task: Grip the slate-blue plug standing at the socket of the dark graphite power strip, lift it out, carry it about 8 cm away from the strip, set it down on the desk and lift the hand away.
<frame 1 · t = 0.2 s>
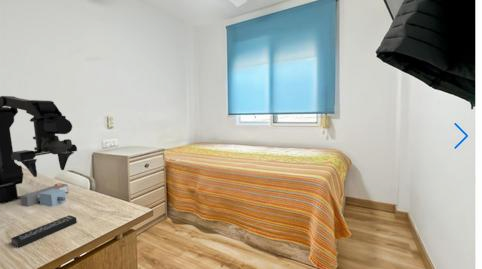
hand: (49, 173, 83), 13 cm above the table, tool pointing down, fingers open, 9 cm apart
power strip: (46, 198, 92), on the table
slate plug: (53, 203, 88), on the table
multiport hub: (47, 234, 66), on the table
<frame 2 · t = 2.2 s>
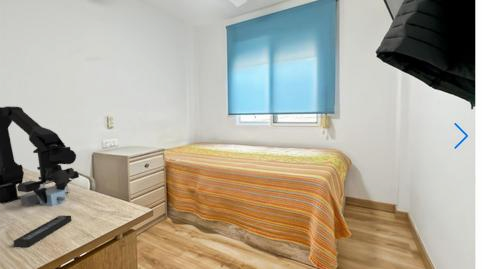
hand: (53, 200, 88), 1 cm above the table, tool pointing down, fingers closed on slate plug, 5 cm apart
slate plug: (53, 203, 88), on the table, touching gripper
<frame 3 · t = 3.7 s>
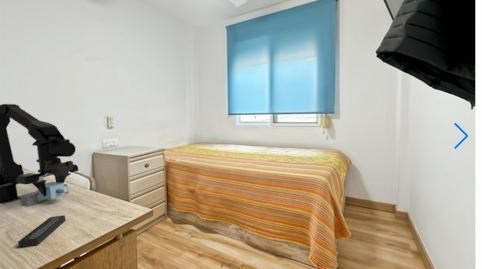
hand: (52, 193, 87), 4 cm above the table, tool pointing down, fingers closed on slate plug, 5 cm apart
slate plug: (52, 196, 87), point 3 cm above the table, touching gripper
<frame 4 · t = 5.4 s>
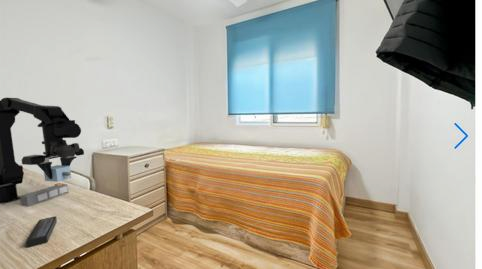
hand: (58, 176, 85), 11 cm above the table, tool pointing down, fingers closed on slate plug, 5 cm apart
slate plug: (58, 179, 85), point 10 cm above the table, touching gripper
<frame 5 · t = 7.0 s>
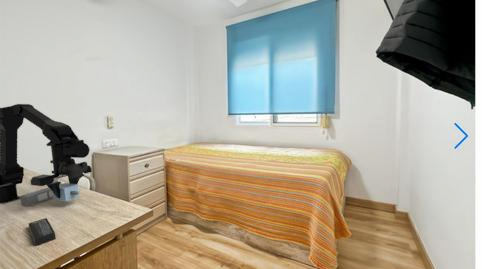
hand: (66, 195, 85), 4 cm above the table, tool pointing down, fingers closed on slate plug, 5 cm apart
slate plug: (66, 197, 85), point 3 cm above the table, touching gripper
when the fingers open (2 cm above the table, at t = 8.1 s): slate plug drops 2 cm, on the table.
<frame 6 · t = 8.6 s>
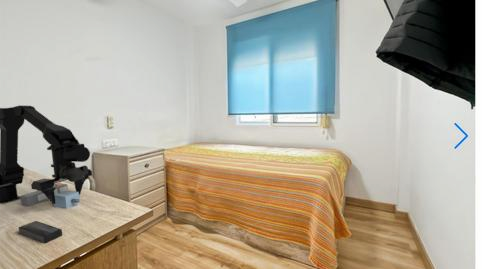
hand: (66, 199, 85), 2 cm above the table, tool pointing down, fingers open, 9 cm apart
slate plug: (67, 205, 85), on the table
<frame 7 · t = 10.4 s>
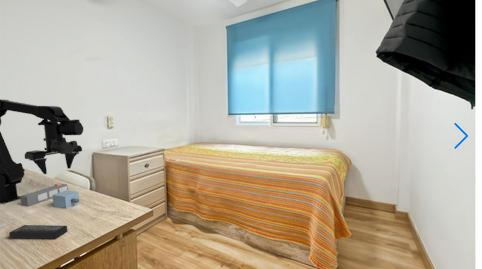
hand: (57, 171, 93), 12 cm above the table, tool pointing down, fingers open, 9 cm apart
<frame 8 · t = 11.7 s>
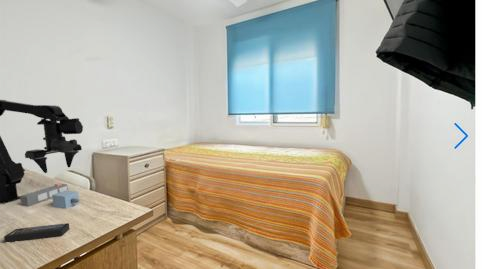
hand: (57, 169, 93), 12 cm above the table, tool pointing down, fingers open, 9 cm apart
at the end: slate plug inside the target area (0.9 cm from its centre), on the table; slate plug touching table; the gripper is holding nothing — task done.
